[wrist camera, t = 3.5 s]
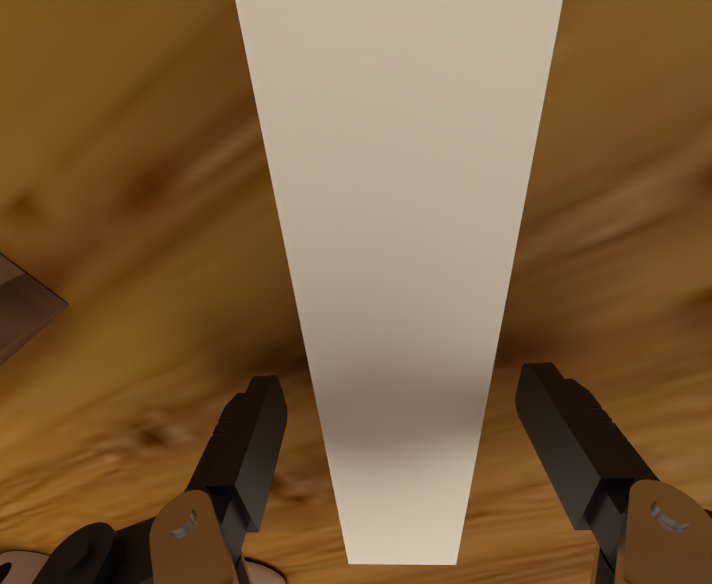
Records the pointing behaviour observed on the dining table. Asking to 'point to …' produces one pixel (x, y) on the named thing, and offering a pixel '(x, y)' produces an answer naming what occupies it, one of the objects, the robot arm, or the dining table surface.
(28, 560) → the cup
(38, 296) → the shelf frame
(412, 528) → the shelf board
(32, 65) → the dining table surface
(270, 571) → the milk bottle
